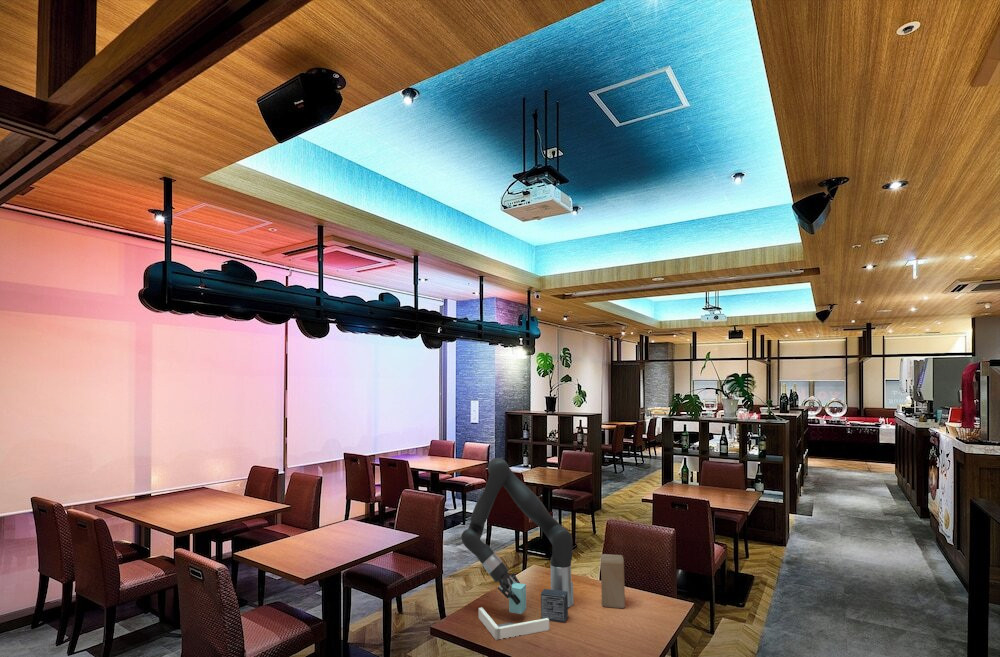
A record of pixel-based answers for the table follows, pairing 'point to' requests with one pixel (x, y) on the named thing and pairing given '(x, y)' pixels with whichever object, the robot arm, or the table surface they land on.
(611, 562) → the block
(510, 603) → the teal block
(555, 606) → the small box
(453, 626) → the table surface
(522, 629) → the white l-shaped bracket
